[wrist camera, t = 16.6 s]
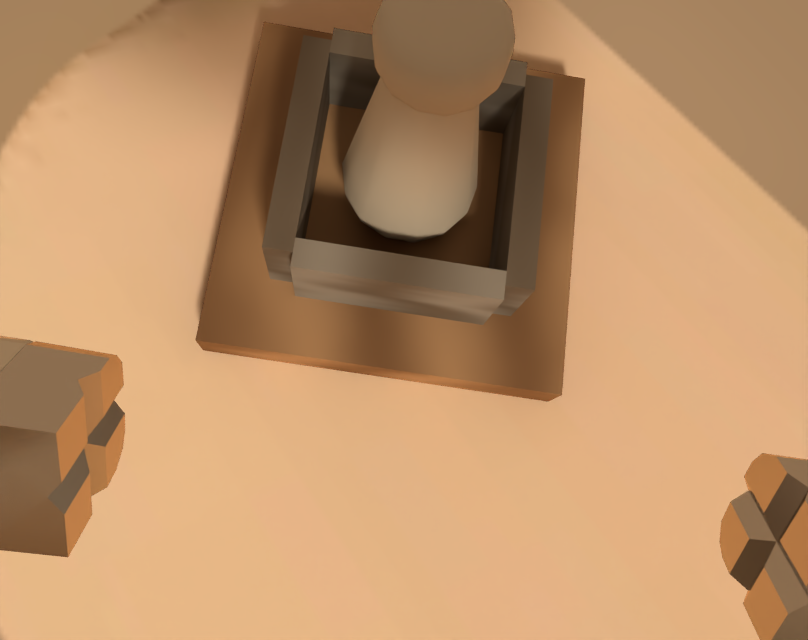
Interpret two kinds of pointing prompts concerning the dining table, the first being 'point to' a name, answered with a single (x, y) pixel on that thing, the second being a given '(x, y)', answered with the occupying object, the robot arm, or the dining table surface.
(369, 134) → the beige round peg
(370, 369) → the walnut socket board
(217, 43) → the dining table surface
